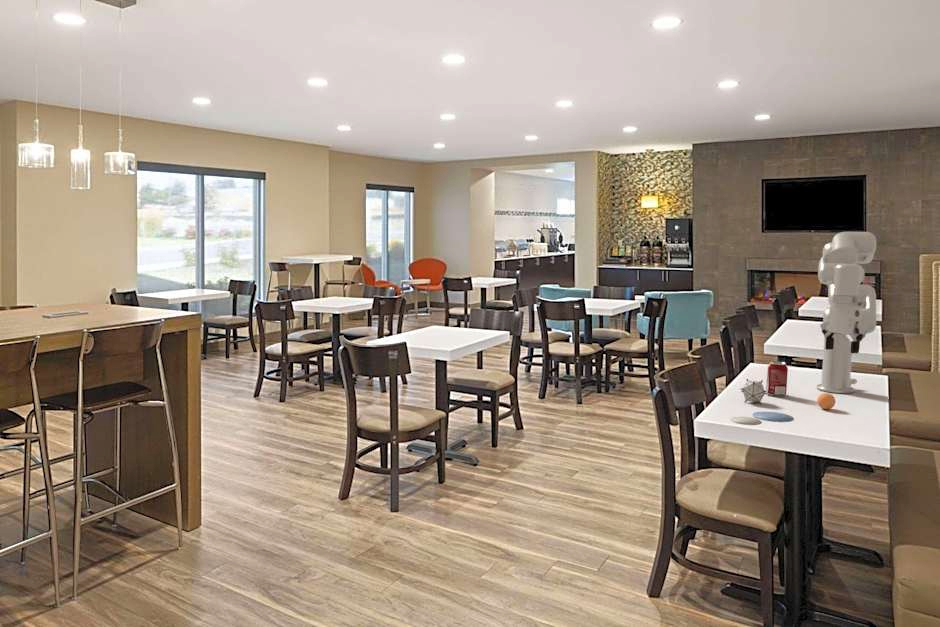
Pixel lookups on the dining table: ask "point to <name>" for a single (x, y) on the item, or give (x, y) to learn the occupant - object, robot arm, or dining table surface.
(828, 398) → the ball
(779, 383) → the soda can
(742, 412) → the dining table surface
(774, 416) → the disc
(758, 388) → the game die
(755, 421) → the far disc
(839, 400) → the dining table surface
